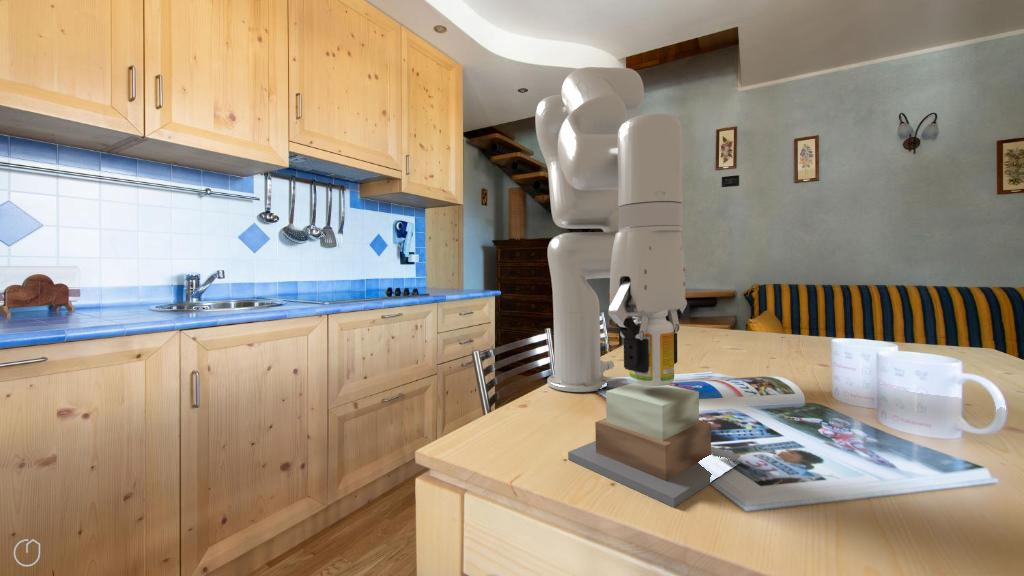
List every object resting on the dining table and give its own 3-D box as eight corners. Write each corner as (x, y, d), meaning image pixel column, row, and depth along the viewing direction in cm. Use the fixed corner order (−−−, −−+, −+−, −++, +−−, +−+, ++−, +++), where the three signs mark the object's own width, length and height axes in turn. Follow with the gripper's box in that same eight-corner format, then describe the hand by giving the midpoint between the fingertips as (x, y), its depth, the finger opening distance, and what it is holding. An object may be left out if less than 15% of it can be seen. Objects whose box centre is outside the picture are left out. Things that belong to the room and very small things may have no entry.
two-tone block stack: (642, 432, 63) (641, 377, 62) (711, 455, 55) (710, 391, 54) (595, 452, 56) (594, 391, 56) (665, 481, 49) (665, 409, 48)
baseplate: (638, 430, 66) (638, 423, 66) (740, 463, 54) (740, 455, 54) (568, 459, 57) (568, 451, 57) (673, 507, 45) (673, 498, 45)
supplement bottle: (668, 375, 58) (667, 301, 57) (679, 386, 52) (679, 305, 52) (626, 375, 58) (625, 302, 58) (633, 386, 53) (632, 306, 52)
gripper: (662, 226, 62) (663, 352, 63) (579, 221, 52) (582, 373, 53) (714, 221, 57) (714, 360, 58) (632, 214, 46) (634, 385, 47)
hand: (651, 364), depth 55 cm, fingers closed on supplement bottle, 5 cm apart
